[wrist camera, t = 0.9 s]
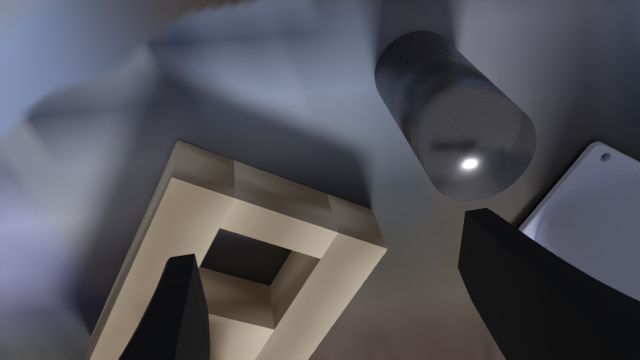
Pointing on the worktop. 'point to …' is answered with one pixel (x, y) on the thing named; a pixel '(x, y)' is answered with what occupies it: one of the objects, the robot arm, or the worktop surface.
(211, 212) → the hitch block
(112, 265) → the worktop surface
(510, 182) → the steel peg
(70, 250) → the worktop surface
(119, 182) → the worktop surface
